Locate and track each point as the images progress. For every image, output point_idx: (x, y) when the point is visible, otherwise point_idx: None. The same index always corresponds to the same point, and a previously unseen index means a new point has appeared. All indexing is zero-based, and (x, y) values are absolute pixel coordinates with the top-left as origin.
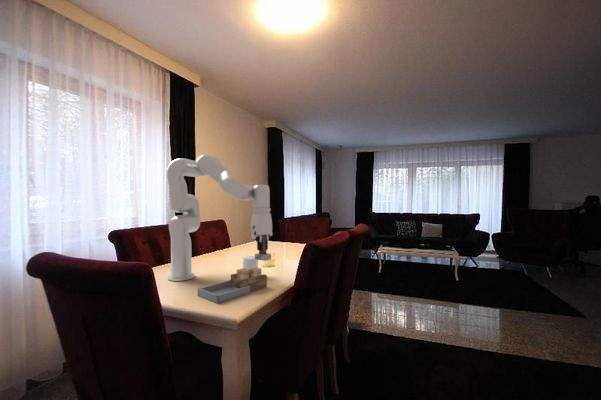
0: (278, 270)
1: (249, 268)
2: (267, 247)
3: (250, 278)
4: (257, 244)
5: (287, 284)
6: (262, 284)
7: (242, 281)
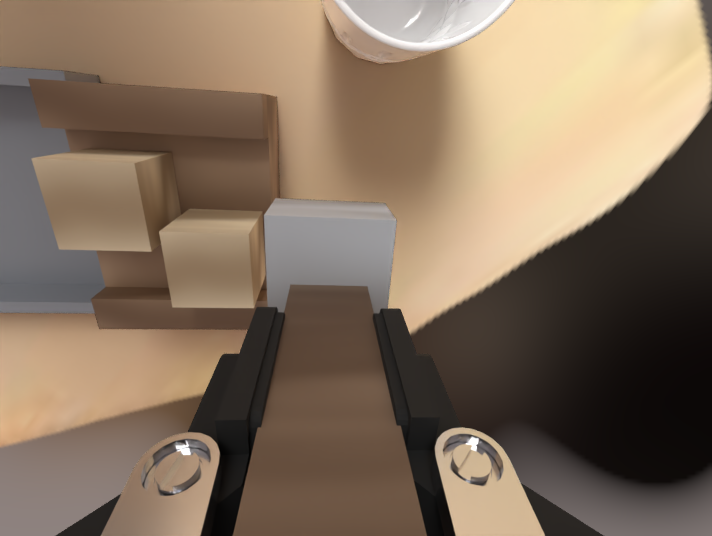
0: (680, 49)
1: (335, 24)
2: None
3: (125, 309)
4: (199, 415)
5: None
6: None
7: None
